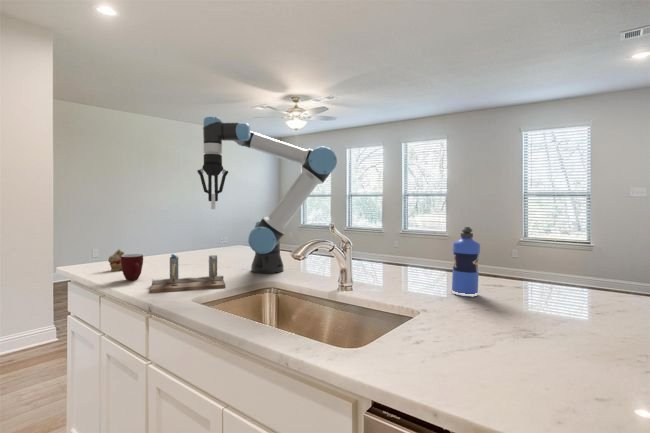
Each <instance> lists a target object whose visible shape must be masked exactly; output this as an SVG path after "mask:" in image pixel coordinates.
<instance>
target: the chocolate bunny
mask: <svg viewBox="0 0 650 433" xmlns="http://www.w3.org/2000/svg"><path fill="white" fill-rule="evenodd" d="M122 255H125V251H123V250H121V249H120V248H119V249H117V250H116V251H115V252H114V254H111V255H110V256H109V257H108V263H109V266H110V268H111V269H110V271H111V272H123V270H122V266H121V256H122Z"/></svg>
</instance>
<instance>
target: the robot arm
mask: <svg viewBox="0 0 650 433" xmlns="http://www.w3.org/2000/svg"><path fill="white" fill-rule="evenodd" d="M202 130H203V131H202V132H203V133H202V134H203V165H202V168H200V169H197V170H196V173H197V174H198V175H199V177H200V181H201V186H202V190H203V192H204V193H206V194H208V202H210V208H211V210H216V202H218V201H219V194H220V193H222V192H223V189H224V186H225V180H226V178H227V177H226V176H227V175H228V174H229V171H228V170H226V169H224V166H223V156H222V153H223V143H222V142H225V141H227V142H229V141H233V142H234V143H236V144H237V145H238V146H241V147H246V148H248V149H249V148H250V149H252V150H255V151H258V152H262V153H263V154H266V155H270V156H271V157H275V158H278V159H280V160H281V159H282V160H285V161H288V162H290V163H293V164H296V165H299V166H301V168H300V170H301V172H300V174H299V175H298V177H297V178H296V179H295V180H294V182H293V183H292V185H291V186H290V187H289V189H288V190H287V191H286V192H285V194H284V196H282V198H281V199H280V201H279V202H278V203H277V205H276V206H275V207H274V208H273V210H272V211H271V213H270V214H269V215H268V216H265V217H262V218H261V220H260V221H256V222H255V224H254V228H253V229H251V231H250V232H249V235H248V245H249V247H250V249H251V250H252V251H253V252H254V253H255V254H254V257H253V260H252V261H251V262H252V263H251V267H250V268H251V270H250V271H251V272H253V273H257V274H274V273H275V272H277V273H281V272H283V271H284V264H283V263H284V262H283V260H282V257H281V256H282V255H281V240H282V238H283V237H284V235H285V233H286V230H285V228H286V227H287V225H288V224H289V223H290V222H291V220H292V219H293V217H294V216H295V215H296V213H297V212H298V211H299V210H300V209H301V207H302V206H303V204H304V203H305V202H306V200H307V199H308V198H309V196H310V195H311V194H312V193H313V191H314V190H315V189H316V187H317V186H318V185H321V184H324V182H325V181H326V180H327V178H328V177H329V176H330V175H331V173H332V172H333V171H334V170H335V168H336V167H337V162H338V159H337V155H336V153H335V151H334V150H332V148H329V147H327V146H318V147H315V148H314V149H311V148H308V149H306V148H301V147H300V146H299V147H298V146H295V145H293V144H290V143H287V142H284V141H280V140H278V139H275V138H271V137H269V136H267V135H263V134H261V133H259V132H254V131H252V130H251V126H250V124H249V123H247V122H242V121H241V122H224V121H223V120H222V117H221V118H220V117H218V116H207V117H203V126H202ZM204 172H205V173H206V175H207V178H208V179H207V182H208V184H207V185H206V181H205V176H204ZM221 172H222V177H221V179H220V180H221V181H220V186H219V175H220V174H221ZM212 178H214V186H213V187H214V193H212V190H213V189H212V188H213V187H212ZM207 187H208V188H207ZM280 271H281V272H280Z"/></svg>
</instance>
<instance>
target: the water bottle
mask: <svg viewBox="0 0 650 433" xmlns="http://www.w3.org/2000/svg"><path fill="white" fill-rule="evenodd" d="M461 231H462V232H460V239H458V240H456V241H454V242H452V253H453V266H452V276H451V278H452V279H451V281H452V282H451V291H452V290H453V291H455V292H458V293H465V294H475V293H478V294H479V258H480V253H481V244H480V243H479V242H477V241H476V240H474V239H473V237H474V233H472V232H474V231H473V229H472V228H471V227H469V226H464V227H463V228H462V229H461Z"/></svg>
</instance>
